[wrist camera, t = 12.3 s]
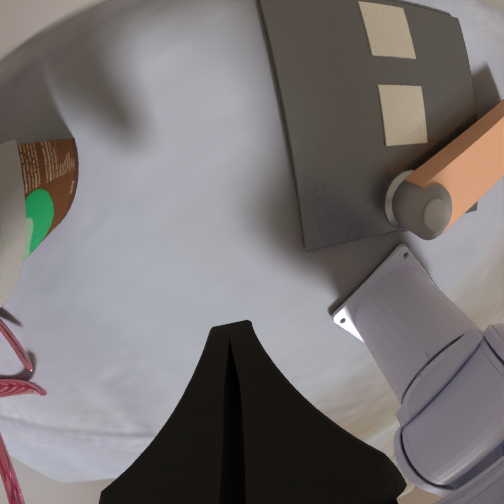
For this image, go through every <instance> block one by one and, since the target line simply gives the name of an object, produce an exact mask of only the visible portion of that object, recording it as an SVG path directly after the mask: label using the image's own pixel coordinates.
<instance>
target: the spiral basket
mask: <svg viewBox="0 0 504 504" xmlns="http://www.w3.org/2000/svg"><path fill="white" fill-rule="evenodd" d="M0 332H1V333H2V334H3V336H4V337H5V338H6V339H7V341H8V342H9V344H10V345H11V346H12V348H13V349H14V351H15V352H16V354H17V356H18V357H19V359H20V360H21V362H22V363H23V365H24V366H25V367H26V368H27V369H28V370H29V371H33V366H32V363H31V361H30V359H29V357H28V355H27V354H26V352H25V350H24V349H23V347H22V346H21V344H20V343H19V341H18V340H17V338H16V337H15V336H14V334H13V333H12V332H11V330H10V329H9V328H8V327H7V326H6V324H5V323H4V322H3V321H2V320H1V319H0ZM21 394H38V395H41V396H45V395H46V394H47V392H46V390H45V389H44V388H43V387H41V386H40V385H38V384H36V383H33V382H30V381H26V380H21V379H0V397H6V396H13V395H21ZM0 474H1V477H2V480H3V483H4V487H5V490H6V493H7V497H8V501H9V504H25V503H24V499H23V496H22V492H21V489H20V486H19V483H18V480H17V477H16V474H15V471H14V468H13V465H12V463H11V460H10V457H9V454H8V452H7V449H6V446H5V443H4V441H3V438H2V436H1V433H0Z"/></svg>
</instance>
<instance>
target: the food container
mask: <svg viewBox="0 0 504 504" xmlns="http://www.w3.org/2000/svg"><path fill="white" fill-rule="evenodd" d="M78 167H79V162H78V153H77V147H76V143H75V139H74V138H70V139H59V140H50V141H41V142H33V143H26V144H19V145H17V142H16V139H14V140H11V141H7V142H4V143H1V144H0V308H1V307H2V306H3V305H4V304H5V303H6V302H7V301H8V300H9V299H10V297H11V295H12V294H13V292H14V290H15V289H16V286H17V283H18V280H19V277H20V275H21V270H22V265H23V262H24V261H25V259H26V258H27V257H28V256H29V255H30V254H31V253H32V252H33V251H34V249H35V248H36V247H37V246H38V245H39V244H40V243H41V242H42V241H43V240H44V239H45V238H46V237H47V236H48V235H49V234H50V233H51V231H52V230H53V229H54V228H55V227H56V226H57V225H58V224H59V223H60V222H61V221H62V220H63V219H64V217H65V216H66V214H67V213H68V211H69V209H70V207H71V205H72V202H73V199H74V197H75V193H76V188H77V182H78Z"/></svg>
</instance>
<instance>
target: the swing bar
mask: <svg viewBox="0 0 504 504" xmlns="http://www.w3.org/2000/svg"><path fill="white" fill-rule="evenodd" d="M503 175H504V99H503V100H502V101H501V102H500V103H499V104H497V105H496V106H495V107H494V108H493V109H491V110H490V111H489V112H488V113H487V114H485V115H484V116H483V117H482V118H481V119H479V120H478V121H477V122H476V123H474V124H473V125H472V126H471V127H469V128H468V129H467V130H466V131H465V132H463V133H462V134H461V135H460V136H458V137H457V138H456V139H455V140H453V141H452V142H451V143H450V144H448V145H447V146H446V147H444V148H443V149H442V150H441V151H439V152H438V153H437V154H436V155H434V156H433V157H432V158H430V159H429V160H428V161H427V162H425V163H424V164H423V165H421V166H420V167H419V168H418V169H416V170H415V171H414V172H412V173H411V174H410V175H408V176H407V177H406V178H404V181H403V182H401V183H400V185H399V186H398V187H397V189H396V191H395V193H394V196H393V200H392V212H393V215H394V218H395V219H396V221H397V222H398V223H399V224H400V225H402V226H403V227H405V228H407V229H408V230H410V231H411V232H413V233H414V234H415V235H417V236H418V237H420V238H422V239H424V240H431V239H434V238H436V237H438V236H440V235H441V234H442V233H443V232H444V231H445V230H446V229H448V228H449V227H450V226H451V225H452V224H453V223H454V222H455V221H456V220H458V219H459V218H460V217H461V216H462V215H463V214H464V213H465V212H466V211H467V210H468V209H469V208H471V207H472V206H473V205H474V204H475V203H476V202H477V201H478V200H479V199H480V198H481V197H482V196H483V195H484V194H485V193H486V192H487V191H488V190H489V189H490V188H491V187H492V186H493V185H494V184H495V183H496V182H497V181H498V180H499V179H500V178H501V177H502V176H503Z"/></svg>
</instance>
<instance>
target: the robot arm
mask: <svg viewBox="0 0 504 504" xmlns="http://www.w3.org/2000/svg"><path fill="white" fill-rule="evenodd" d="M405 253H406V254H405ZM404 254H405V256H404ZM342 318H344V319H343V320H341V319H342ZM332 319H333V321H334V322H335V323H336V324H338V325H339V326H341V327H342V328H344V329H345V330H346V331H348V332H349V333H351V334H352V335H354V336H355V337H356V338H358V339H359V340H361V341H362V342H364V343H365V344H366V346H367V347H368V349H369V351H370V352H371V354H372V356H373V357H374V359H375V361H376V362H377V364H378V366H379V367H380V369H381V371H382V372H383V374H384V376H385V377H386V379H387V381H388V383H389V384H390V386H391V388H392V390H393V391H394V393H395V395H396V396H397V398H398V400H399V402H400V404H401V405H402V406H401V407H400V409H399V410H398V411H397V412H396V413H395V415H396V417H397V419H398V421H399V423H400V425H401V426H400V427H399V428H398V429H397V431H396V433H395V436H394V452H395V457H396V461H397V464H398V466H399V468H400V470H401V472H402V473H403V475H404V476H405V477H406V478H407V479H408V480H409V481H410V482H411V483H412V484H414V485H415V486H417V487H419V488H420V489H422V490H425V491H428V492H432V493H435V494H437V495H439V496H440V497H442V499H440V500H438V501H437V502H435V503H433V504H504V325H503V324H496V325H489V326H488V327H487V329H486V330H485V331H482V330H481V329H480V328H479V327H478V326H477V325H476V324H475V323H474V322H473V321H472V320H471V319H470V318H469V317H468V316H467V315H466V314H465V313H464V312H463V311H462V310H461V309H460V308H459V307H457V306H456V305H455V304H454V303H453V302H452V301H451V300H450V299H449V298H448V297H447V296H446V295H445V294H444V293H443V292H442V291H440V290H439V289H438V288H437V286H436V285H435V284H434V282H433V281H432V279H431V278H430V277H429V275H428V274H427V272H426V271H425V270H424V268H423V267H422V266H421V264H420V263H419V262H418V260H417V259H416V258H415V256H414V255H413V254H412V252H411V251H410V250H409V249H408V247H407V246H405V245H404V244H400V245H398V246H397V247H396V249H395V250H394V251H393V252H392V253H391V254H390V255H389V256H388V257H387V259H386V260H385V261H384V262H383V263H382V264H381V265H380V266H379V267H378V268H377V269H376V270H375V271H374V273H373V274H372V275H371V276H370V277H369V278H368V279H367V280H366V281H365V282H364V283H363V284H362V285H361V286H360V287H359V288H358V289H357V290H356V291H355V292H354V293H353V294H352V295H351V296H350V297H349V298H348V299H347V300H346V301H345V302H344V303H343V304H342V305H341V306H340V307H339V308H338V309H337V310H336V311H335V312H334V313H333V314H332ZM406 486H407V484H406V482H405V479H404V478H403V476H402V474H401V473H400V471H399V470H398V468H397V467H396V466H395V465H394V463H393V462H392V461H391V460H390V459H389V458H388V457H387V456H386V454H384V453H383V452H381V451H379V450H377V449H375V448H373V447H372V446H370V445H368V444H366V443H365V442H363V441H361V440H360V439H358V438H356V437H355V436H353V435H352V434H350V433H349V432H347V431H346V430H344V429H343V428H341V427H340V426H338V425H337V424H336V423H334V422H333V421H332V420H331V419H329V418H328V417H327V416H325V415H324V414H323V413H322V412H320V411H319V410H318V409H317V408H315V407H314V406H313V405H312V404H311V403H310V402H309V401H308V400H307V399H306V398H304V397H303V396H302V395H301V394H300V393H299V392H298V391H297V390H296V389H295V388H294V386H293V385H292V384H291V383H290V382H289V381H288V380H287V379H286V378H285V376H284V375H283V374H282V373H281V372H280V370H279V369H278V368H277V367H276V365H275V364H274V363H273V361H272V360H271V358H270V357H269V356H268V354H267V353H266V351H265V350H264V348H263V347H262V345H261V343H260V341H259V340H258V338H257V336H256V334H255V332H254V329H253V327H252V323H251V321H249V320H244V321H240V322H235V323H230V324H225V325H220V326H216V327H212V328H211V330H210V332H209V335H208V338H207V341H206V344H205V347H204V350H203V352H202V355H201V358H200V360H199V362H198V365H197V367H196V369H195V372H194V374H193V376H192V378H191V380H190V382H189V384H188V386H187V388H186V390H185V392H184V394H183V396H182V398H181V399H180V401H179V403H178V405H177V406H176V408H175V410H174V411H173V413H172V414H171V416H170V417H169V419H168V421H167V422H166V423H165V425H164V426H163V428H162V429H161V430H160V432H159V433H158V435H157V436H156V437H155V438H154V440H153V441H152V442H151V443H150V445H149V446H148V447H147V448H146V449H145V450H144V452H143V453H142V454H141V455H140V456H139V457H138V458H137V459H136V460H135V461H134V463H133V464H132V465H131V466H130V467H129V468H128V469H127V470H126V471H125V472H124V473H122V474H121V475H120V476H119V477H118V478H117V479H116V480H115V481H113V482H112V483H111V484H110V485H109V486H108V487H106V488H105V489H104V490H103V491H102V492H101V496H100V500H99V504H398V502H397V500H396V498H397V497H398V496H399V495H400V494H401V493H402V492H403V491H404V490H405V488H406Z"/></svg>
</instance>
